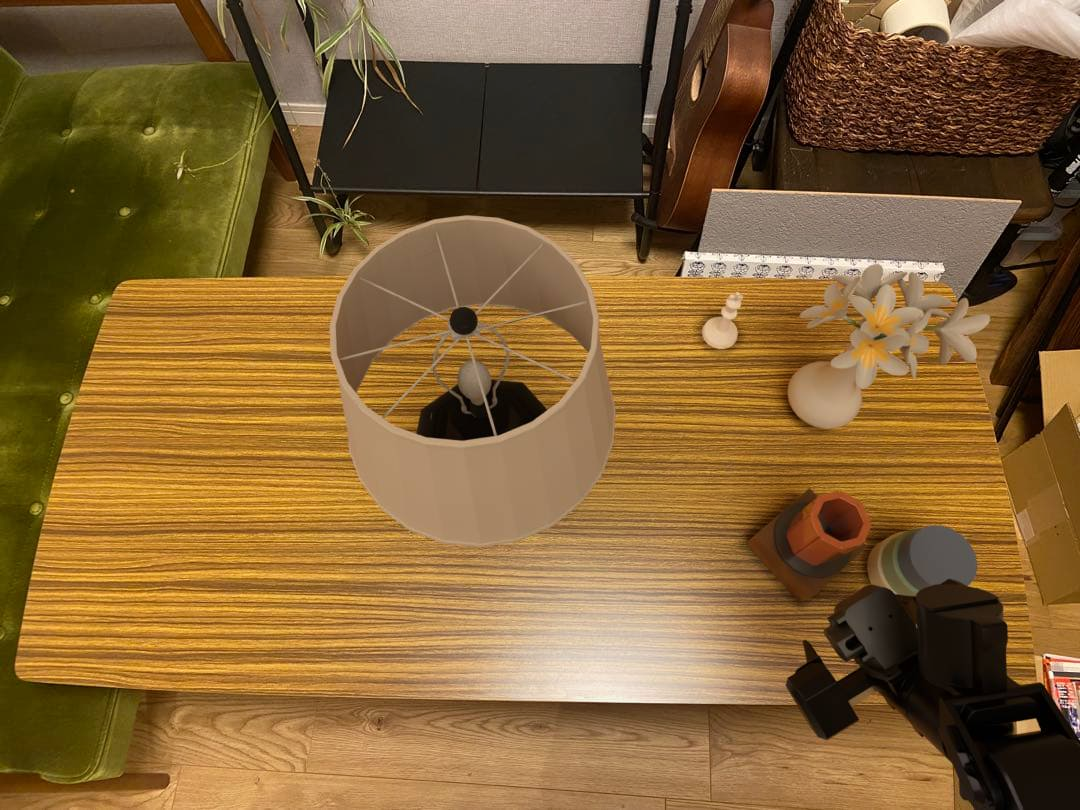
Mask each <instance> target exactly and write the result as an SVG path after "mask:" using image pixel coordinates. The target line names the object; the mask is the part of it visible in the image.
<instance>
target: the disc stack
mask: <svg viewBox="0 0 1080 810" xmlns="http://www.w3.org/2000/svg"><path fill="white" fill-rule="evenodd" d="M866 566H867V567H866V569H867V576H868V580H869V582H870V585H877V586H881V587H885V588H888V589H890V590H892V591H893V592H894V594H899V595H907V596H916V594H917V593H918V591H919V590H921V589H923V588H926V587H930V586H932V585H935V584H941V583H943V582H944V581H946V580H947V579H953V580H957V581H959V582H961V583H963V584H964V585H966V586H969V585H971V584H972V583H973V581H974V580H975V577H976V575H977V573H978V572H977V571H978V560H977V555H976V552H975V550H974V548H973V547H972V545H971V544H970V542H969V541H968V540H967V539H966V538H965V537H964V536H963V535H962V534H961V533H959V532H958V531H956V530H954V529H953V528H950V527H947V526H945V525H939V524H938V525H937V524H933V525H927V526H924V527H916V528H911V529H909V530H906V531H905V530H904V531H900V532H896V533H894V534H892V535H890V536H888V537H887V538H885V539H883V540H881V541H879V542H878V543H877V544H876V545H875V546H873V548H872V549H871V550H870V553H869V555H868V558H867V564H866Z"/></svg>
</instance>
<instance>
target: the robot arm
mask: <svg viewBox="0 0 1080 810" xmlns="http://www.w3.org/2000/svg"><path fill="white" fill-rule="evenodd" d="M1004 615H1005V613H1004V604H1003V603H1002V602H1001V600H1000V599H999V597H998V596H997V595H996V594H995V593H992V592H990V591H987V590H985V589H983V588H982V589H981V588H978V587H973V586H969V585H968V586H966V585H964V584H963V583H961V582H959V581H957V580H953V579H947V580H946V581H944V582H943V583H941V584H935V585H932V586H930V587H926V588H923V589H921V590H919V591H918V593H917V594H916V596H907V595H899V594H894V592H893V591H892V590H890V589H888V588H885V587H881V586H877V585H871V584H867V585H865V586H863V587H861V588H860V589H859V590H857V591H856V592H854V593H852V594H850V595H849V596H848V597H846V598H845V599H841V600H840V601H839V602H837V603H836V605H835V606H834V608H833V613H832V614H829V616H827V617H826V619H827V622H828V623H829V626H828V627H826V628H824V629H823V631H822V632H823V635H824V636H825V638H826V639H827V641H828V642H829V644H830V645H831V647H832V649H833V650H834V651H835V653H836V655H837V656H838V657H839V658H840V659H841V660H842V661H843V662H846V663H848V662H850V661H851V660H853V661H855V663H856V664H857V665H858V666H859V667H858V668H857V669H855V670H853V671H852V672H850V673H849V674H847V675H845V676H843V677H842V678H840V679H838V680H836V678H835V677H834V675H833V674H832V673H831V671H830V670H829V669H828V667H827V666H826V664H825V662H824V661H823V660H822V658H821V656H820V655H819V653H818V652H817V651H816V650H815V648H814V646H813V645H812V644H811V642H810V641H809V640H807V639H803V640H802V646H803V651H804V655H805V660H806V661H805V663H804V664H802V665H801V666H798V667H797V668H796V669H795V672H794V673H793V674H790V675H789V676H788V677H787V678H786V681H785V685H784V686H785V688H786V689H787V691H788V693H789V694H790V696H791V697H792V700H793V701H794V703H795V704H796V706H797V707H798V709H799V711H800V713H801V714H802V716H803V718H804V719H805V721H806V723H807V724H808V726H809V727H810V729H811V730H812V731H813V733H814V734H815V735H816V737H817V738H819V739H822V740H824V741H829V740H831V739H833V738H834V737H836V736H837V735H839V734H841V733H843V732H844V731H846V730H847V729H849V728H850V727H852V726H854V725H855V724H857V723H858V722H859V721H860V719H859V717H858V715H857V714H856V713H857V712H855V709H854V708H853V707H854V706H856V705H857V704H859V703H861V702H862V701H864V700H865V699H867V698H868V697H870V696H873V694H875V693H878V694H879V695H880V696H881V697H883V699H884V700H885V702H886V704H887V705H888V706H889V707H890V708H891V709H892V710H893V711H897V712H898V713H899V714H900V715H901V716H902V717H903V718H904V719H905V720H906V721H907V722H908V723H909V724H910V725H911V726H912V729H913V730H914V731H915V732H916V733H917V734H918V736H920V737H921V738H925V739H926V740H927V741H928V742H929V743H930V744H931V745H932V746H933V747H934V748H936V750H937V751H938V752H940V753H941V755H943V757H945V758H946V759H947V760H948V761H949V762H950V763H951V764H952V767H953V769H954V771H955V773H956V776H957V779H958V793H959V796H960V798H961V799H962V800H963V801H967V802H968V803H970V806H972V808H973V809H974V810H1080V738H1079V737H1078V735H1077V733H1076V732H1075V730H1074V728H1073V727H1072V726H1071V724H1070V723H1069V722H1068V720H1067V718H1066V717H1065V715H1064V713H1063V712H1062V711H1061V709H1060V708H1059V706H1058V704H1057V703H1056V701H1055V700H1054V698H1053V697H1052V695H1051V694H1050V692H1049V691H1048V688H1046V686H1045V684H1044V683H1042V682H1040V681H1038V682H1034V683H1026V684H1019V683H1018V682H1016V681H1015V680H1013V678H1011V677H1010V676H1009V675H1008V668H1007V667H1008V666H1007V662H1008V661H1007V647H1008V642H1009V632H1008V631H1009V627H1008V623H1007V622H1006V621H1005V617H1004ZM1030 720H1036V721H1037V725H1038V728H1039V730H1034V731H1027V732H1022V733H1015V726H1014V723H1017V722H1023V721H1030Z"/></svg>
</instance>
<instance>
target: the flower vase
mask: <svg viewBox="0 0 1080 810" xmlns="http://www.w3.org/2000/svg"><path fill="white" fill-rule="evenodd" d="M883 273H884V268H883V266H882V265H881V264H880V263H879V264H878V263H875V264H871V265H869V266H868V267H866V268H865V269H864V270H863V272H862V273H861V276H857V277H855V276H852V275H849V274H848V275H845V274H836V275H833V276H832V280H833V281H834V282H833V283H831V284H829V285H828V286H827V288H825V290H824V293H823V302H824V304H825V305H821V304H817V305H814V306H813V305H812V306H811V307H808V308H806V309H805V310H803V311H802V312H801V313H800V314H799V318H802V319H812V320H811V321H809V323H807V325H806V328H805V329H806V330H808V329H812V328H814V327H816V326H819V325H821V324H824V323H828V322H832V321H835V320H839V319H842V320H843V321H844V322H846V323H848V324H849V325H851V326H853V327H854V330H853V331H852V332H851V334H850V336H849V340H850V341H849V342H850V343H849V345H848V346H847V347H846V349H844V351H843V352H842V353H841V354H839V355H837V356H835V357H833V358H832V359H831V361H827V360H824V361H823V360H819V361H813V362H809V363H807V364H805V365H803V366H801V367H800V368H798V369H797V370H796V371H795V373H794V374H792V376H791V377H790V380H789V382H788V385H787V391H786V392H787V393H786V395H787V400H788V402H789V405H790V407H791V410H792V412H793V413H794V414H795V415H796V416H797V417H798V418H799V419H800V420H801V421H802V422H804V423H805V424H806V425H809V426H810V427H811V426H812V427H813V428H818V429H821V430H835V429H841V428H843V427H845V426H847V425H848V424H850V423H852V422H853V421H854V420H855V418H856V417H857V416H858V414H859V412H860V410H861V408H862V405H863V391H862V389H863V390H864V389H867V388H869V387H870V386H871V385H872V384H873V383H874V382H875V380H876V378H877V374H878V367H879V369H880V370H882V371H883V372H885V373H887V374H890V375H892V376H898V377H899V376H905V375H907V374H908V373H909V372H910V375H911V377H912V379H913V380H915V379H916V377H917V372H918V361H917V357H916V355H915V354H917V355H924V354H926V353H927V352H928V350H929V347H930V340H929V338H928V337H927V336H926V335H924V334H919V333H921V332H922V331H934V334H935V336H937V337H938V339H939V352H938V362H939V364H940V365H941V366H944V365H946V364H947V363H949V361H950V360H951V358H952V356H953V350H954V351H955V353H956V354H957V355H958V356H960V357H961V359H963V360H964V361H965V362H968V363H972V362H975V361H976V359H977V358H978V357H977V356H978V353H977V348H976V345H975V343H974V342H973V341H972V339H970V338H969V337H968V335H973V334H975V333H978V332H980V331H982V330H983V329H985V328H986V327H987V326H988V325H989V323H990V321H991V316H990V315H989V314H988V313H976V314H974V315H970V316H967V313H968V311H969V299H967V298H966V297H963V298H961V299H960V300H959V301H958V302H957V303H956V305H955V307H954V308H953V310H952V312H951V314H950V315H949V313H947V312H946V311H944V310H942V309H941V308H943V307H944V308H945V307H949V306H951V305H952V304H953V303H952V300H951V299H949V298H948V297H946V296H944V295H941V294H937V293H928V294H925V285H924V282H923V280H922V278H921V277H920V276H919V275H918V274H917V273H916V272H913V271H911V272H909V274H908V272H907V271H899V272H895V273H891V274H889V275H886V276H885V277H883ZM907 275H908V281H907V282H908V283H907V282H906V281H905V279H904V277H906V276H907ZM882 277H883V278H882ZM896 282H897V284H898V286H899V289H900V292H901V294H902V297H903V300H904V304H905V306H904V307H900V308H899V307H898V308H897V309H895V306H896V303H897V294H896V290H895V289H894V287H893V286H892V285H893V284H894V283H896ZM837 283H838V284H837ZM839 284H840V285H842V286H843V287H840V285H839ZM924 294H925V295H924ZM923 295H924V296H923ZM875 297H876V298H875ZM873 298H875V301H874V305H873V303H872V299H873ZM850 304H851V305H852V308H854V309H855V310H856V312H858V313H859V314H860V315H861V316H862V317H863V318H862V319H860V320H859V321H858V322H856V321H854V320H853V319H852V318H850V317H849V316H847V312H848V309H849V305H850ZM894 309H895V310H894ZM932 315H933V316H938V317H942V318H945V320H941V321H938V322H937V323H936V324H935V325H928V323H929V321H930V319H931V318H932V317H931V316H932ZM965 316H966V317H965ZM910 324H911V325H910ZM906 325H909V327H907V328H906V329H905V328H903V327H902V326H906ZM965 335H967V336H965ZM898 350H899V351H900V353H901V355H902V356H903V358H904V360H905V362H904V361H903V360H902V359H900V358H899V357H897V356H896V355H894V354H892V353H893V352H896V351H898Z"/></svg>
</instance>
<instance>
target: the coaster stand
mask: <svg viewBox="0 0 1080 810" xmlns="http://www.w3.org/2000/svg"><path fill="white" fill-rule="evenodd" d="M818 496H819V495H817V493H815V492H814V491H813V490H812V489H811V488H810V487H809V488H808V489H807V490H805V491H804V492H803V493H802V494H801V495H799V496H798V498H796V499H795V500H794V501H793V502H791V503H790V504H789V505H788V506H787V507H786V508H785V509H783V510H782V511H781V512H780V513H778V515H776V516H775V517H774V518H773V519H772V520H770V522H768V523H767V524H766V525H765V526H763V527H762V528H761V529H760V530H759V531H758V532H757V533H756V534H754V535H753V537H751V538H750V539H749V540H748V541H747V542H746V543H745V545H746V546H747V547H748V548H749V550H751V552H752V553H753V554H754V555H755V556H756V557H757V558H758V559H759V561H761V562H762V563H763V565H764V566H765V567H766V568H767V569H768V570H769V571H770V572H771V573H772V574H773V575H774V577H775V579H777V580H778V581H779V582H780V583H781V584H782V586H784V587H785V589H786V590H787V591H788V592H789V593H790V594H791V595H792V596H793V597H794V598H795V599H796V601H797V602H798V603H799V604H801V603H803V602H805V601H807V600H808V599H811V598H812V597H815V596H816V594H818V593H819V592H820V591H822V589H823V588H824V587H826V586H827V584H829V583H830V582H831V581H832V580H833V579H834V578H835V577H836V576H838V575H839V574H840V573H841V572H842V571H843V570H844V569H845V568H846V567H847V566H849V564H851V563H852V562H853V560H855V559H856V558H857V557H858V556H859V555H860V554H862V553H863V552H864V551H865V550H866V549H867V548H868V545H867V544H866V543H865V542H864V543H863V544H862V545H861V546H859V547H857V548H856V549H854V550H852V551H850V552H849V553H847V554H845V555H844V556H842V557H840V558H838V559H837V560H835V561H833V562H829V563H825V564H821V565H818V566H815V565H814V566H813V565H811V564H809V563H808V562H806V561H804V560H802V559H800V558H798V557H797V556H795V554H793V551H792V549H791V546H790V544H789V541H788V539H787V536H786V535H787V534H786V532H787V530H788V528H789V526H790V524H791V522H792V519H793V517H795V516H796V515H797V514H798V513H799V512H800V511H802V510H803V509H804V508H805V507H806V506H807V505H809V504H810V503H811V502H812V501H813V500H815V499H816V498H817V497H818ZM820 523H821V526H822V528H823V530H824V533H826V534H828V535H830V536H831V537H833V535H832V533H831V530H830V528H829V526H827V525H825V524H823V523H822V522H820ZM833 538H834V537H833Z"/></svg>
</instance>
